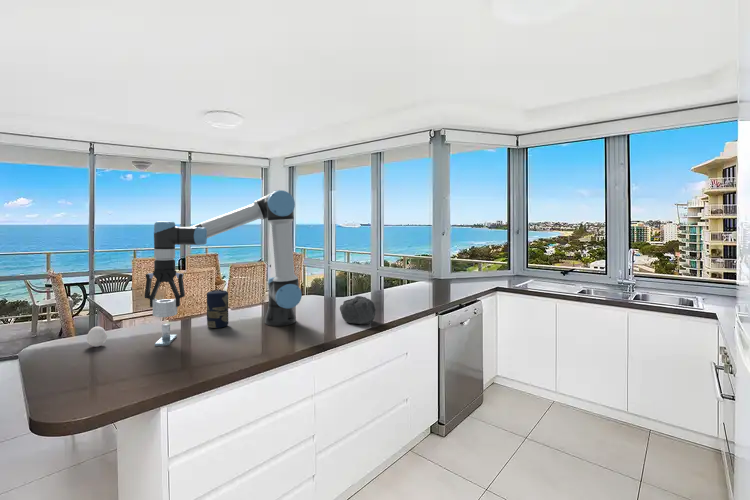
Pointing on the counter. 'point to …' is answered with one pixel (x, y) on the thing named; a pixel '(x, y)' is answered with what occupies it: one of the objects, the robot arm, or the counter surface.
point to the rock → (358, 310)
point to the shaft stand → (165, 336)
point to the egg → (96, 336)
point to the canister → (217, 308)
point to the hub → (164, 308)
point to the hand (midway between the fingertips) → (165, 314)
